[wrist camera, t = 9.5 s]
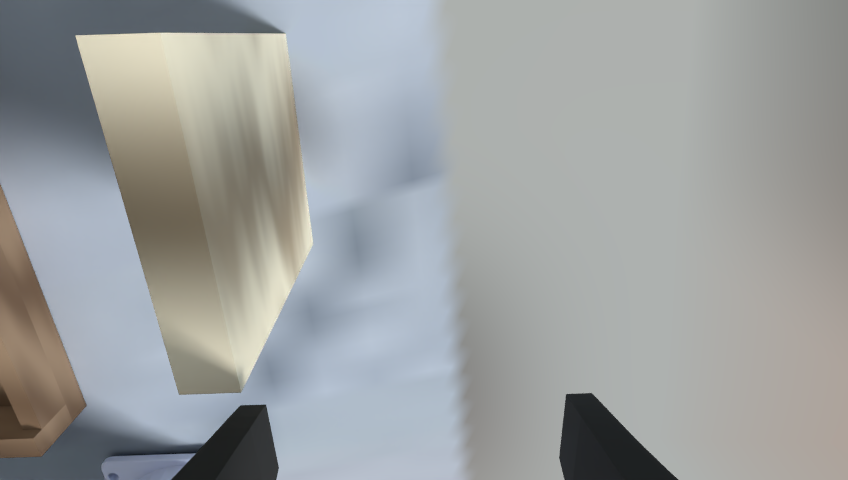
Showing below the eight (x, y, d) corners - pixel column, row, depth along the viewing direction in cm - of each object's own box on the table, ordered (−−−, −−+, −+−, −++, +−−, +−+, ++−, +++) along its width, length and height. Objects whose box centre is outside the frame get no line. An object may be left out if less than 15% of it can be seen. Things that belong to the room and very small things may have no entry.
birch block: (313, 243, 20) (240, 392, 12) (277, 245, 20) (179, 394, 12) (285, 33, 17) (160, 32, 9) (242, 35, 17) (75, 34, 8)
